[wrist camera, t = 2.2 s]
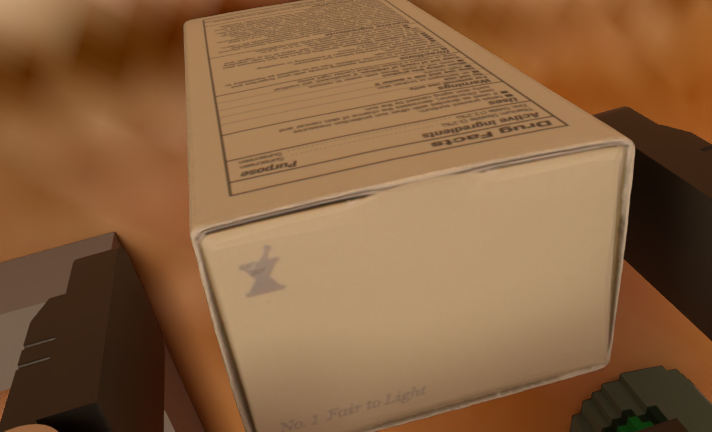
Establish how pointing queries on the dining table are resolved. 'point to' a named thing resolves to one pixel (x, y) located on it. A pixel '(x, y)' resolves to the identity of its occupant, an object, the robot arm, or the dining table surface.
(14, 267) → the socket block
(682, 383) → the can
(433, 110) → the skincare box
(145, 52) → the dining table surface
